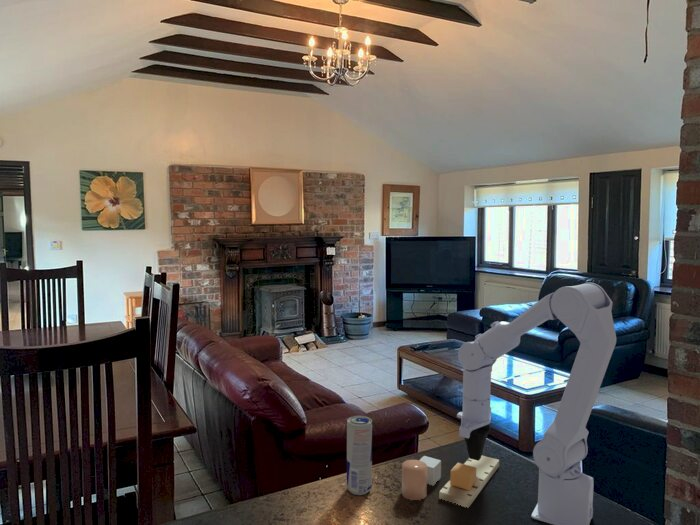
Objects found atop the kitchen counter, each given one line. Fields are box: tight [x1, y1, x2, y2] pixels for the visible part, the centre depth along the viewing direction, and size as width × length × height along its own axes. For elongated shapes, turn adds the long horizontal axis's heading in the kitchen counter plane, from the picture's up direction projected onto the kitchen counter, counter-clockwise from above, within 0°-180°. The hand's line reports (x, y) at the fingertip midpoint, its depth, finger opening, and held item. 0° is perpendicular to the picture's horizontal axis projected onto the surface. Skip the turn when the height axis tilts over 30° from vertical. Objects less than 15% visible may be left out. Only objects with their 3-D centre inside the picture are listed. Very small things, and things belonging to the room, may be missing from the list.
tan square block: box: [449, 462, 476, 490], centre depth 105 cm, size 4×4×3 cm
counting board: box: [438, 455, 500, 509], centre depth 110 cm, size 6×20×2 cm, turn 147°
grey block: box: [419, 455, 442, 487], centre depth 111 cm, size 4×4×4 cm
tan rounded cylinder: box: [401, 459, 428, 501], centre depth 105 cm, size 5×5×6 cm
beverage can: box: [346, 415, 373, 496], centre depth 105 cm, size 5×5×15 cm
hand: (475, 458), depth 111 cm, fingers closed
